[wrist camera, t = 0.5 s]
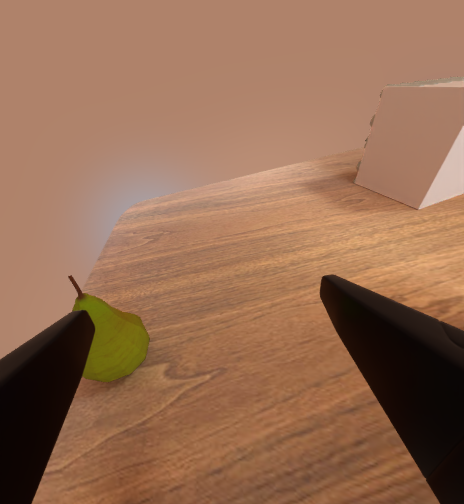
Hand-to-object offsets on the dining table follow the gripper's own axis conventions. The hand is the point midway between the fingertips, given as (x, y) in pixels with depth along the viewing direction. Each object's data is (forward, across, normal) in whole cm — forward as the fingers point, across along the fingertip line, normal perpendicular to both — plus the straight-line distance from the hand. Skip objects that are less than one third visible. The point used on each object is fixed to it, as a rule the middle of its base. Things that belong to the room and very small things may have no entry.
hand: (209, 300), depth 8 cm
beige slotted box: (+45, -48, +8) cm, 67 cm away
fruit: (+10, +11, +15) cm, 21 cm away
